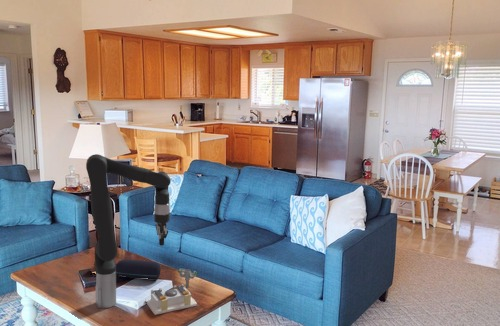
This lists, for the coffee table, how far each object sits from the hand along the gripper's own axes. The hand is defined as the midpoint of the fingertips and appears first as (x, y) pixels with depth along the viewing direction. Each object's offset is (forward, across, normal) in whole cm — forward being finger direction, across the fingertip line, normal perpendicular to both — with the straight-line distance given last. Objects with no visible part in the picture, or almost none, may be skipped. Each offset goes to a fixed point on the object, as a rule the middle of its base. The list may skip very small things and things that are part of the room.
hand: (161, 245), depth 226 cm
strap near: (+24, +7, -3) cm, 25 cm away
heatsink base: (+29, +7, +3) cm, 30 cm away
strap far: (+24, +7, +9) cm, 26 cm away
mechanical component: (+29, -6, +17) cm, 34 cm away
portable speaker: (+29, -29, -3) cm, 41 cm away
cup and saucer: (+29, -45, -20) cm, 58 cm away
